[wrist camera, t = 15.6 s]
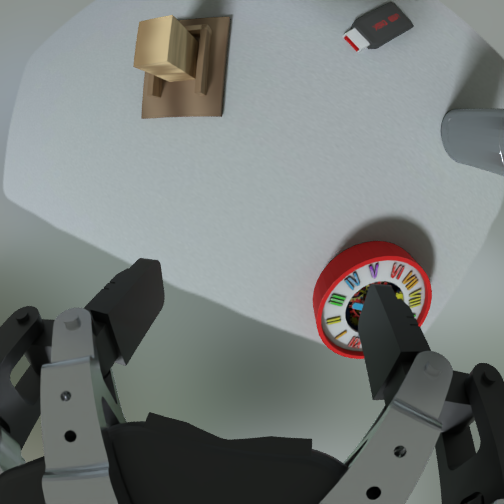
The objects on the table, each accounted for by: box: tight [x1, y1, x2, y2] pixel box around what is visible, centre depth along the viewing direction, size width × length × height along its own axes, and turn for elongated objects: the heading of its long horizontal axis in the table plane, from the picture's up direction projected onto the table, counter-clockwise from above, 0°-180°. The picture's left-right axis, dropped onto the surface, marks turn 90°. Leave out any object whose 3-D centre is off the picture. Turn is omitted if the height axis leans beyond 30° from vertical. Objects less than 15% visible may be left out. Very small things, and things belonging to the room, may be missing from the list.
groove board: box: [142, 17, 230, 119], centre depth 30 cm, size 12×16×4 cm
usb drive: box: [343, 2, 413, 53], centre depth 26 cm, size 5×12×3 cm, turn 132°
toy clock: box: [313, 241, 432, 359], centre depth 42 cm, size 20×6×20 cm
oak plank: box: [134, 15, 199, 82], centre depth 26 cm, size 4×6×11 cm, turn 177°
